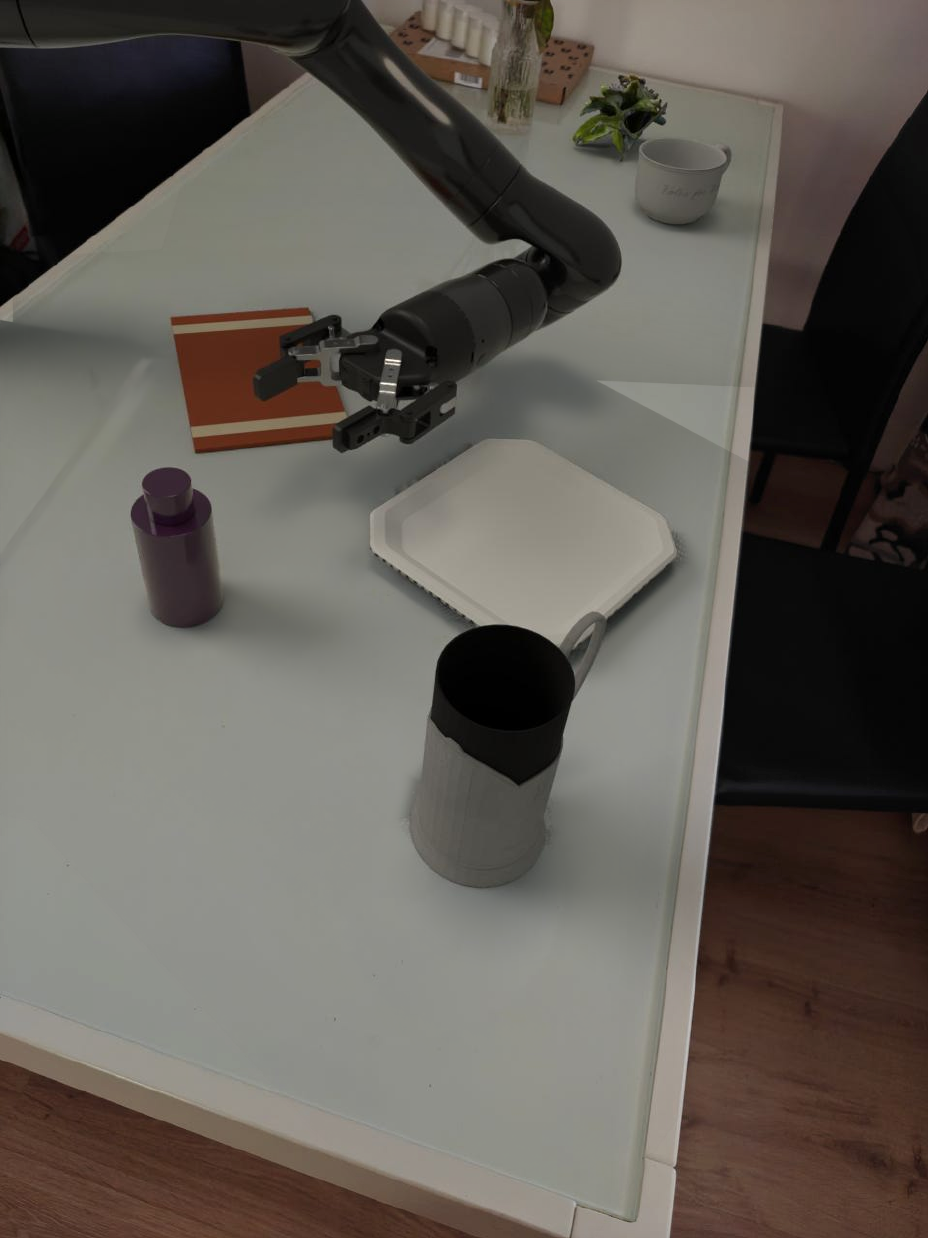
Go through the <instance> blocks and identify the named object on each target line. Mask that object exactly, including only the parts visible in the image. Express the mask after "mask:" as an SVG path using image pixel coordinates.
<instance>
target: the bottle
mask: <svg viewBox="0 0 928 1238" xmlns="http://www.w3.org/2000/svg"><path fill="white" fill-rule="evenodd" d="M141 489H142V493H143V494H141V495H140V496H139V497H138V498H137V499H136V500H135V501H134V502H133V504H132V505H131V508H130V513H129V514H130V521H131V525H132V530H133V534H134V539H135V544H136V548H137V549H136V550H137V555H138V558H139V559H138V560H139V563H140V569H141V572H142V578H143V582H144V588H145V593H146V598H147V601H148V607H149V611H150V612H151V614H152V616H153V617H154V618H155V619H156V620H158V621H159V622H160V623H162V624H164V625H167V626H170V627H175V628H190V627H196V626H199V625H203V624H205V623H206V622H208V621H210V620H211V619H212V618H214V617H215V616H216V615H217V614H218V613H219V611H220V610H221V608H222V606H223V604H224V592H223V584H222V576H221V569H220V562H219V552H218V545H217V539H216V538H217V537H216V530H215V524H214V514H213V507H212V503H211V500H210V499H209V498H208V496H206V495H205V494H204V493H203V492H202V491H200V490H198V489H196V488H193V482H192V478H191V476H190V475H189V473H188V472H186V471H185V470H183V469H181V468H178V467H170V466H169V467H166V466H165V467H160V468H156V469H154V470H151V471H150V472H148V473H147V474H146V475H145V476H144V477H143V479H142V481H141Z"/></svg>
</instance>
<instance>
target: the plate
mask: <svg viewBox="0 0 928 1238" xmlns="http://www.w3.org/2000/svg"><path fill="white" fill-rule="evenodd" d="M369 549H370V551H371V552H372V554H373V556H374V557H376V558H378V560H380V561H382V562H383V563H385V564H386V565H387V566H389V567H391V568H392V569H393V570H395V571H396V572H397V573H399V574H400V575H402V576H403V577H405V578H406V579H408V580H409V581H411V582H412V583H414V584H415V585H416V586H417V587H419V588H420V589H422V590H424V591H425V592H426V593H428V594H429V595H430V596H432V597H434V599H436V600H438V601H439V602H441V603H443V605H445V606H446V607H448V608H449V609H451V610H452V611H454V612H455V613H456V614H458V615H459V616H461V617H462V618H463V619H465V620H466V621H468V622H469V623H471V624H472V625H473V626H475V627H480V626H484V625H493V624H501V625H512V626H518V627H522V628H525V629H529V630H531V631H533V632H536V633H538V634H540V635H542V636H544V637H545V638H547V639H549V640H550V641H551V642H552V643H554V644H555V645H556V646H557V647H558V648H559V647H560V645H561V643H562V642H563V640H564V638H565V637H566V635H567V634H568V633H569V631H570V630H571V628H572V627H573V626H574V625H575V624H576V623H577V622H578V621H579V620H580V619H581V618H582V617H583V616H585V615H586V614H588V613H590V612H592V611H594V612H599V613H600V614H602V615H603V616H604V617H605V618H606V621H607V620H608V619H610V618H611V617H612V616H613V615H614V614H615V613H616V612H618V610H620V609H621V608H622V607H623V606H624V605H625V604H626V603H628V602H629V601H630V600H631V599H632V598H634V596H635V595H637V594H638V593H639V592H640V591H641V590H642V589H643V588H645V586H647V585H648V584H649V583H650V582H651V581H652V580H653V579H654V578H656V577H657V576H658V575H659V574H660V573H661V572H662V571H663V570H664V569H665V568H667V567H668V566H669V565H670V564H671V563H673V561H675V560H676V558H677V554H678V550H677V546H676V543H675V541H674V537H673V534H672V531H671V528H670V525H669V521H668V520H667V519H666V518H665V517H664V516H663V515H662V514H660V513H658V512H657V511H655V510H653V508H650V507H648V506H647V505H645V504H643V503H641V502H640V501H638V500H637V499H635V498H633V497H631V496H630V495H628V494H626V493H624V492H623V491H621V490H619V489H617V488H616V487H614V486H612V485H611V484H609V483H608V482H606V481H604V480H602V479H601V478H598V477H597V476H595V475H594V474H592V473H590V472H588V471H587V470H585V469H583V468H581V467H580V466H578V465H576V464H574V463H572V462H571V461H569V460H568V459H566V458H564V457H562V456H560V455H559V454H557V453H556V452H554V451H552V450H551V449H549V448H547V447H545V446H543V445H541V443H539V442H536V441H534V440H530V439H513V438H486V439H482V440H480V441H479V442H477V443H476V444H474V445H472V446H471V447H469V448H467V450H464V451H463V452H462V453H460V454H459V455H457V456H456V457H454V458H452V459H451V460H449V461H448V462H446V463H445V464H444V465H441V466H440V467H438V468H437V469H435V470H434V471H432V472H431V473H429V474H427V475H426V476H424V477H423V478H421V479H420V480H418V481H417V482H415V483H413V484H412V485H410V486H409V487H407V488H405V489H404V490H402V491H401V492H399V493H398V494H396V495H395V496H393V497H391V498H390V499H388V500H386V501H385V502H383V503H382V504H380V505H379V506H378V507H375V508H374V509H373V510H372V511H371V513H370V515H369ZM594 627H595V623H593V624H592V625H591V626H589V627H588V628H587V629H586V631H585V632H584V633H583V634H582V635H581V637H580V638H579V639H578V641H577V642H576V644H575V645H574V647H573V649H572V650H571V651H573V650H575V649H576V648H577V647H578V646H580V645H581V644H582V643H583V642H584V641H586V639H588V638H589V637H590V636H592V634H593V631H594Z"/></svg>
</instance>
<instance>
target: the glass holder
mask: <svg viewBox="0 0 928 1238" xmlns="http://www.w3.org/2000/svg"><path fill="white" fill-rule="evenodd" d="M607 622H608V621H607V620H606V618H605V617H604V616H603V615H602V614H600V613H599V612H594V611H592V612H590V613H588V614H586V615H585V616H583V617H582V618H581V619H580V620H579V621H578V622H577V623H576V624H575V625H574V626H573V627H572V628H571V630H570V631H569V633H568V634H567V635H566V637H565V638H564V640H563V642H562V643H561V645H560V647H559V648H558V647H557V646H556V645H555V644H554V643H552V642H551V641H550V640H549V639H547V638H545V637H544V636H542V635H540V634H538V633H536V632H533V631H531V630H529V629H525V628H522V627H518V626H512V625H501V624H493V625H484V626H480V627H477V626H475V627H473V628H470V629H467V630H465V631H463V632H461V633H459V634H458V635H457V636H455V637H453V638H452V639H451V640H450V641H449V642H448V643H447V644H445V646H444V648H443V649H442V650H441V652H440V654H439V656H438V659H437V661H436V666H435V672H434V673H435V674H434V681H433V682H434V683H433V692H432V703H431V707H430V710H429V712H428V715H427V718H426V728H425V739H424V748H423V758H422V768H421V777H420V787H419V793H418V795H417V796H416V798H415V800H414V804H413V805H412V808H411V811H410V817H409V832H410V836H411V842H412V843H413V845H414V848H415V850H416V852H417V853H418V855H419V857H420V858H421V859H422V861H423V862H424V863H425V864H426V865H427V866H428V867H429V868H430V869H431V870H432V871H433V872H435V873H436V874H438V875H439V876H440V877H442V878H444V879H446V880H448V881H450V882H452V883H455V884H459V885H462V886H467V887H472V888H491V887H496V886H497V887H498V886H502V885H506V884H507V883H510V882H513V881H515V880H516V879H518V878H520V877H522V876H523V875H524V874H525V873H526V872H528V871H529V870H530V869H531V868H532V867H533V866H534V864H535V863H536V862H537V861H538V859H539V857H540V856H541V853H542V851H543V848H544V844H545V841H546V830H547V829H546V822H545V821H546V820H545V813H546V811H547V806H548V803H549V799H550V795H551V792H552V788H553V784H554V781H555V777H556V773H557V770H558V766H559V764H560V760H561V757H562V752H563V749H564V732H565V729H566V725H567V722H568V719H569V716H570V715H569V714H570V712H571V711H570V710H571V707H572V704H573V701H574V700H575V698H576V697H577V696H578V694H579V692H580V690H581V688H582V686H583V684H584V682H585V681H586V678H587V677H588V675H589V673H590V671H591V669H592V667H593V665H594V663H595V661H596V659H597V655H598V654H599V651H600V648H601V646H602V643H603V639H604V636H605V633H606V630H607V629H606V628H607ZM593 623H595V627H594V631H593V633H592V634H591V638H590V640H589V642H588V646H587V648H586V651H585V653H584V656H583V658H582V660H581V662H580V664H579V666H578V668H577V670H576V672H574V669H573V667H572V664H571V662H570V660H569V659H568V658H569V657H570V654H571V652H572V651H573V650H574V649H573V647H574V645H575V644H576V642H577V641H578V639H579V638H580V637H581V635H582V634H583V633H584V632H585V631H586V629H587V628H588V627H589V626H591V625H592V624H593ZM572 649H573V650H572Z"/></svg>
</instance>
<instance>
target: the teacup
mask: <svg viewBox="0 0 928 1238" xmlns="http://www.w3.org/2000/svg"><path fill="white" fill-rule="evenodd" d="M732 153H733V152H732V149H731V147H730V146H728V145H727V144H725V143H717V144H712V143H708V142H706V141H702V140H699V139H695V138H691V137H682V136H681V137H680V136H663V137H655V138H650V139H648V140H646V141H645V140H644V142H642V143H641V144H640V145H639V147H638V154H639V155H638V161H637V167H636V174H635V180H634V197H635V200H636V202H637V204H638V205H639V207H640V208H641V209H642V210H643V211H644V213H645V214H646V216H648V217H649V218H650V219H653V220H655V221H657V222H660V223H664V224H668V225H669V224H670V225H684V224H685V225H686V224H690V223H692V222H695V221H696V220H698V219H699V218H701V217H702V216H704V215H706V214H707V213H709V212H710V211H711V209H712V208H713V207H714V205H715V203H716V199H717V197H718V194H719V190H720V186H721V184H722V183H721V182H722V178H723V175H724V174H725V173H726V171H727V170H728V169H729V166H730V164H731V161H732V155H733V154H732Z"/></svg>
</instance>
